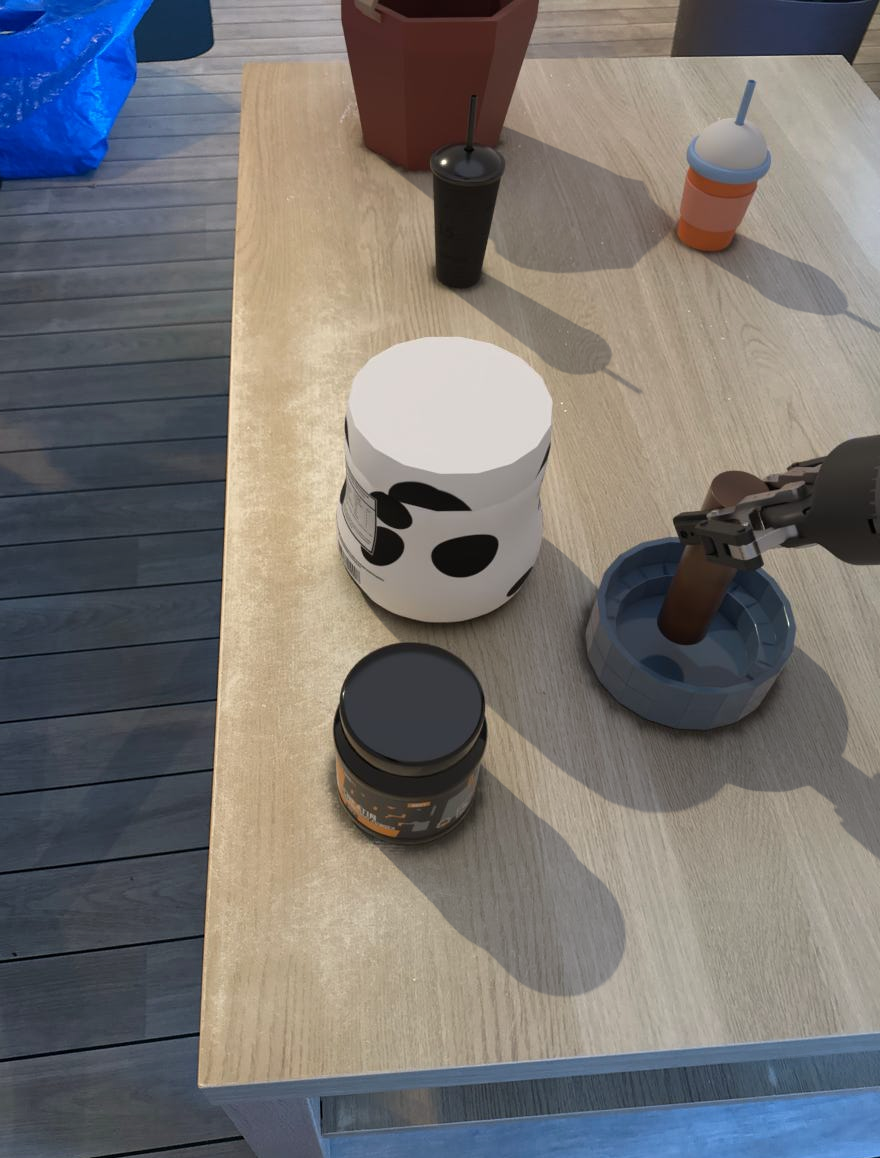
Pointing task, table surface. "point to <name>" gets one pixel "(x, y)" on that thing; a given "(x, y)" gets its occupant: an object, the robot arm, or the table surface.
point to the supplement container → (409, 742)
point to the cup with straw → (722, 179)
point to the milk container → (443, 478)
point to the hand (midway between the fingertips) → (702, 515)
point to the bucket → (433, 70)
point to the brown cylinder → (704, 569)
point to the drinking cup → (464, 205)
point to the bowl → (686, 672)
